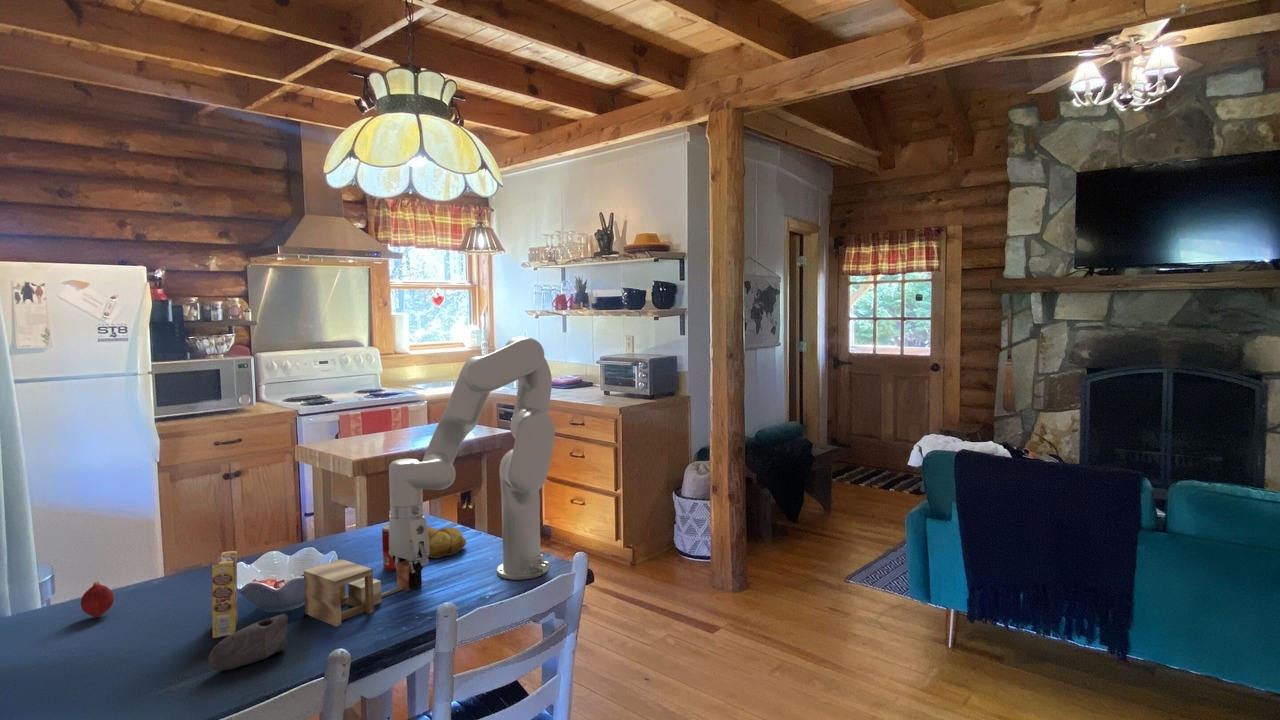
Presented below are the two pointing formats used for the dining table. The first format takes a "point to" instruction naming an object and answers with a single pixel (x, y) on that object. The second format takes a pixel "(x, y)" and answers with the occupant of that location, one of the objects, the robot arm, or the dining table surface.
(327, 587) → the oak shelf cubby
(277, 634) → the perforated stone tool
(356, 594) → the birch block with cord
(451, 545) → the bread roll
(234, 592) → the candy box
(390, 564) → the canned food
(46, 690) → the dining table surface
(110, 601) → the red pomegranate
